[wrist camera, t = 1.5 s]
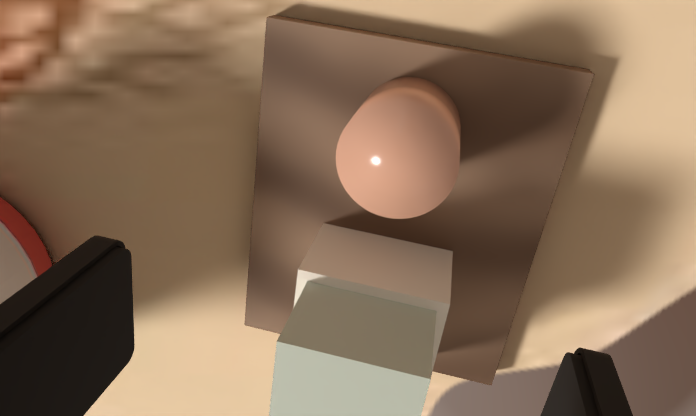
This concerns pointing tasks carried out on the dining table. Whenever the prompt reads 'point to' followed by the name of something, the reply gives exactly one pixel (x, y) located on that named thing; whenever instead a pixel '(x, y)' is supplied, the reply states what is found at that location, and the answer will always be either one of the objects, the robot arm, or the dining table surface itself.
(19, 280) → the citrus juicer
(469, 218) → the serving board
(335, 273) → the cream block
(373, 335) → the sage block
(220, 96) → the dining table surface
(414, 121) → the pink domed cylinder
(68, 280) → the robot arm
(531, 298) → the dining table surface
